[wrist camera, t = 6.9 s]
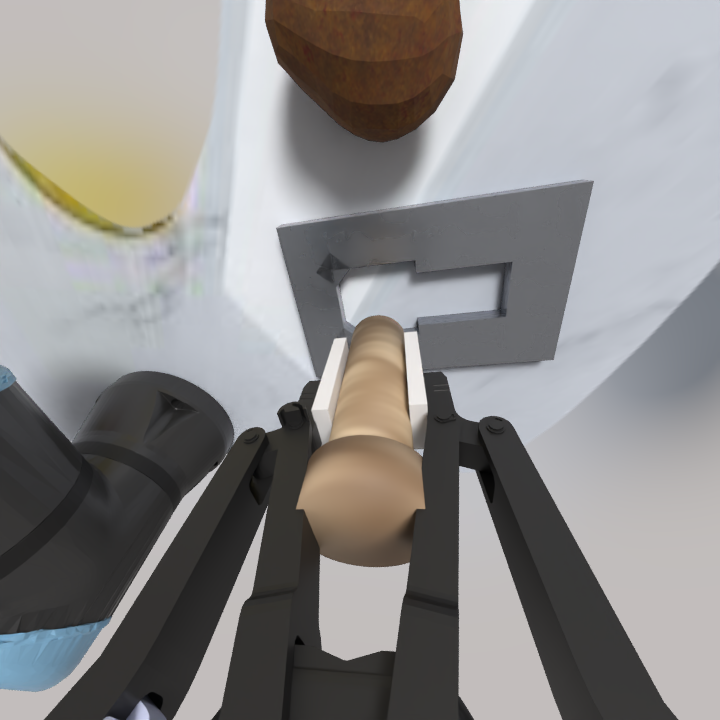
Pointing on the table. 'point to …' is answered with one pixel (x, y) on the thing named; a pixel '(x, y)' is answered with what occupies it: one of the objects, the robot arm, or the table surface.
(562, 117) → the table surface
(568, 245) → the keyhole plate
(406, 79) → the potato
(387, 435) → the peg
